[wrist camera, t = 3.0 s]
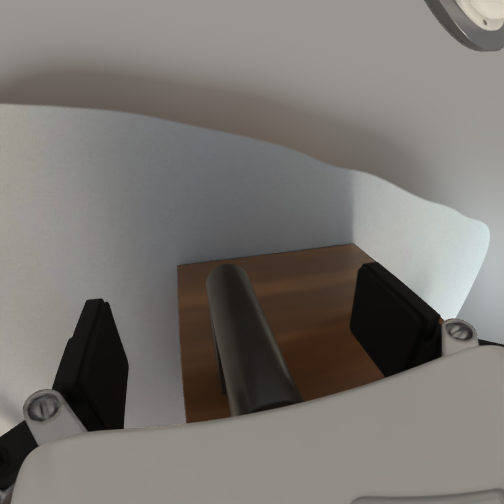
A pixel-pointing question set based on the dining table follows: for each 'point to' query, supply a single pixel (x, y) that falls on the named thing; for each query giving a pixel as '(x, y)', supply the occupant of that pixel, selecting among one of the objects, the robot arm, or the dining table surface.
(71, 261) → the dining table surface
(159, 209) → the dining table surface
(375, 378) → the cupboard door
